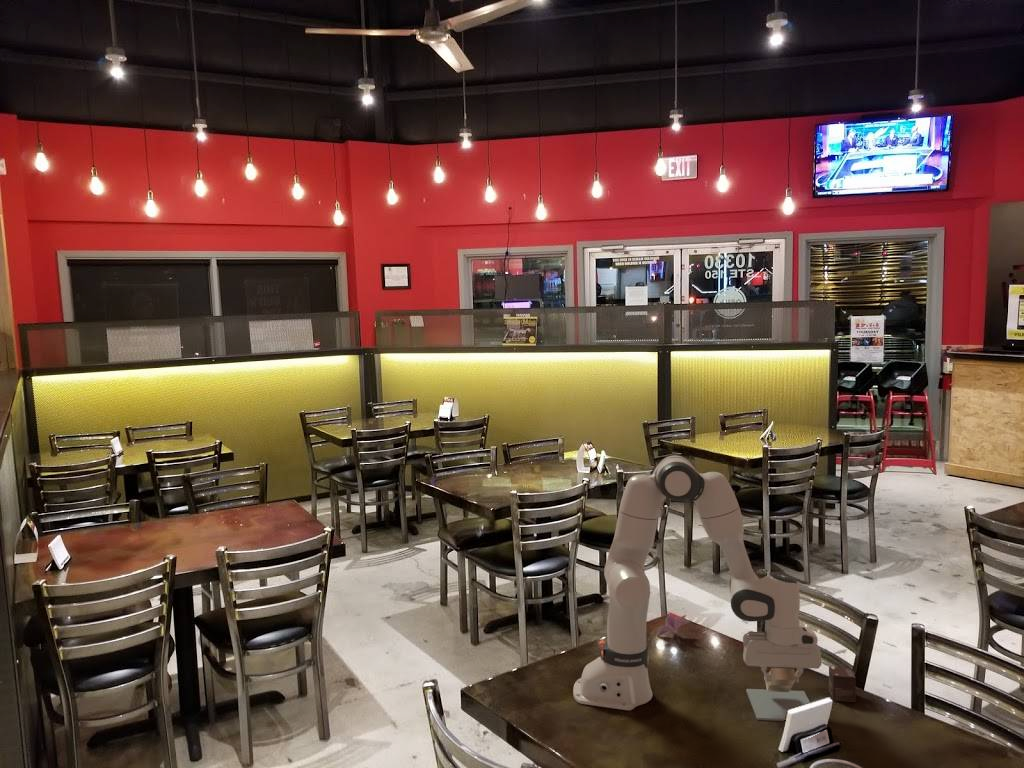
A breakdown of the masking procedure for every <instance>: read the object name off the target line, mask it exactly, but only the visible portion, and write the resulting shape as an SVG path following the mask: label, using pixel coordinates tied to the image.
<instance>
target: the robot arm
mask: <svg viewBox="0 0 1024 768" xmlns="http://www.w3.org/2000/svg"><path fill="white" fill-rule="evenodd" d="M666 498H667V499H669V500H671V501H674V502H675V501H676V502H693V503H694V504H695V506H696V510H697V512H698V515H699V519H700V522H701V525H702V526H703V529H704V532H705V533H706V535H707V537H708V538H709V540H711V541H712V542H714V543H716V544H718V545H719V547H720V548H721V551H722V552H723V556H724V558H725V561H726V564H727V567H728V569H729V570H728V571H729V573H730V580H729V593H730V607H731V610H732V613H734V615H735V616H736V617H737V618H738V619H740V620H742V621H744V622H765V623H764V625H765V626H764V631H754V630H751V631H748V632H746V633H744V635H742V644H743V652H742V653H743V655H742V659H743V662H744V664H746V666H748V667H760V669H761V671H762V673H763V679H764V682H765V681H766V682H771V675H770V673H769V672H767V670H768V667H769V668H789V669H796V671H795V677H796V681H795V682H794V684H798V683H800V677H801V676H802V674H803V673H804V669H813V670H814V669H815V670H817V669H819V668H820V667H821V666H822V653H821V648H820V646H819V645H818V636H817V634H816V632H815V631H814V630H813V629H812V628H810V627H808V626H805V625H802V624H800V619H799V612H800V608H801V604H800V603H801V599H800V598H801V597H800V588H799V584H798V582H797V581H796V579H795V578H794V577H792V576H791V575H789V574H787V573H784V572H779V571H772V572H769V574H767V575H766V576H764V577H761V576H760V575H759V574H758V573H757V571H756V570H755V569H754V568H753V566H752V563H751V560H750V557H749V555H748V551H747V549H746V546H745V543H744V533H745V528H744V521H743V520H744V519H743V515H742V511H741V508H740V504H739V502H738V499H737V497H736V494H735V492H734V490H733V488H732V485H731V484H730V482H729V480H728V479H727V477H726V476H725V475H724V474H722V473H721V472H717V471H708V472H705V473H703V472H702V473H701V472H698V471H697V470H696V468H695V467H694V464H693V463H692V462H691V461H690V460H689V459H688V458H687V457H686V456H684V455H681V454H678V453H673V454H668V455H666V456H665V457H663V458H661V459H660V460H659V461H658V462H657V464H656V465H655V466H654V467H653V468H652V469H651V471H650V472H649V474H642V473H641V474H635V475H633V476H631V477H630V478H629V479H628V480H627V482H626V485H625V487H624V490H623V494H622V497H621V501H620V503H619V504H620V505H619V509H618V514H617V515H618V516H617V520H616V525H615V532H614V537H613V540H612V543H611V546H610V547H609V548H610V549H609V552H608V555H607V559H606V561H605V565H604V572H603V574H604V579H605V582H606V585H607V588H608V592H609V593H608V594H609V602H608V614H607V618H606V625H607V626H606V628H607V629H606V630H607V632H606V634H607V635H606V638H607V639H606V641H605V640H600V641H599V642H598V648H599V652H600V653H599V656H598V657H597V658H595V659H593V660H592V661H590V662H589V663H587V664H586V665H585V666H584V668H583V671H582V673H581V677H579V678H578V679H577V680H576V681H575V683H574V685H573V688H572V689H573V690H572V693H573V694H572V695H573V699H574V700H575V701H576V702H577V703H579V704H580V705H589V706H593V707H594V706H596V707H601V708H608V709H615V710H616V709H617V710H624V711H632V710H635V708H636V707H638V706H642V705H644V704H647V703H648V702H649V701H651V700H652V698H653V691H652V689H651V688H652V687H651V683H650V678H649V673H648V672H649V671H648V667H649V648H648V645H647V621H648V620H647V619H648V611H649V605H650V597H651V585H650V581H649V578H648V576H647V575H646V571H645V566H646V562H647V558H648V556H649V553H650V551H651V549H652V548H653V546H654V542H655V538H656V537H655V536H656V532H657V527H658V521H659V515H660V510H661V505H662V503H663V501H664V500H665V499H666ZM766 682H765V683H766Z"/></svg>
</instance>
